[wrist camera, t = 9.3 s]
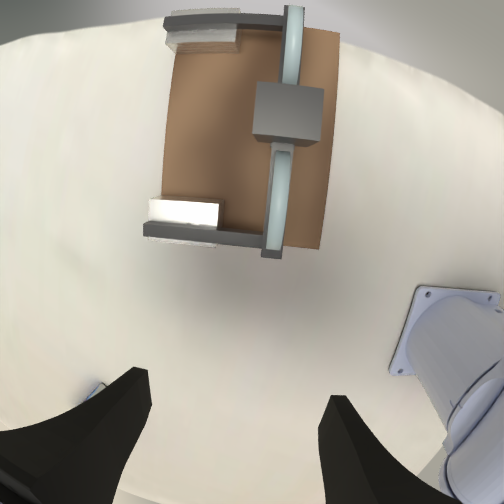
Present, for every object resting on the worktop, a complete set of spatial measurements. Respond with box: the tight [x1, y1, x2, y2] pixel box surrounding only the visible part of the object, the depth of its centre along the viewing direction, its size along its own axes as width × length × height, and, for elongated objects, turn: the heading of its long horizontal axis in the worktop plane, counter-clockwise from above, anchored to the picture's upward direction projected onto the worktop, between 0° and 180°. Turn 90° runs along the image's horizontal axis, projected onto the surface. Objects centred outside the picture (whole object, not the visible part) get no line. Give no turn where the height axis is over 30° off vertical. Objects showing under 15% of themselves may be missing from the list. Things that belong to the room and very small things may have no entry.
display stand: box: [148, 8, 340, 249], centre depth 16 cm, size 10×14×3 cm
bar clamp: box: [143, 5, 324, 259], centre depth 12 cm, size 8×13×5 cm, turn 175°
